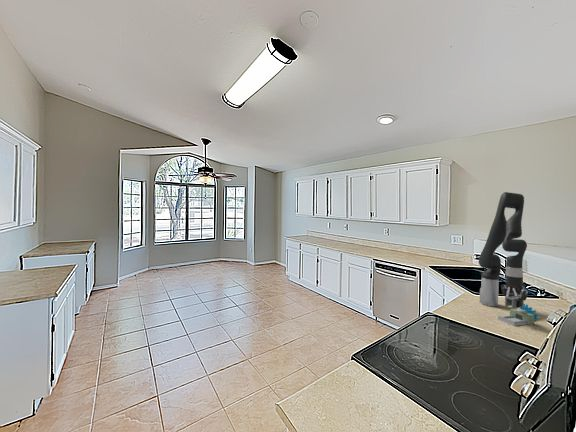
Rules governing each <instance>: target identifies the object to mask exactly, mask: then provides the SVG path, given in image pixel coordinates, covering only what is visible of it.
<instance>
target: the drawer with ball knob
mask: <svg viewBox="0 0 576 432" xmlns="http://www.w3.org/2000/svg"><path fill="white" fill-rule="evenodd" d="M497 320H498V321H500V322H503V323H506V324H508V325H511V326H514V327H515V326H518V327H519V326H524V325H525V326H526V325H528V326H530V325H531V326H532V325H535V320H534V315H533V314H530V313H527V312H526V310H522V309H520V308H510V309H509V315H504V316H503V315H502V316H500V315H497Z"/></svg>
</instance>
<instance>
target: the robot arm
mask: <svg viewBox="0 0 576 432" xmlns="http://www.w3.org/2000/svg"><path fill="white" fill-rule="evenodd" d="M524 205H525V196H524V195H523V194H522V193H517V192H516V193H515V192H508V191H505V192H504V191H503V193H501V195H500V198H499V201H498V205H497V207H496V208H497V209H496V212H495V216H494V218H493V220H492V221H493V222H492V225H491V227H490V230H489V233H488V237H487V239H486V242H485V244H484V247H483V248H482V251H481V252H480V255H479V258H478V265H479V266H480V267H481V268H483V269H486V270H485V271H483V272H481V275H480V276H481V281H480V282H481V284H480V285H481V286H480V288H479V303H481V304H482V305H485V306H489V307H498V306H499V284H500V283H499V282H500V281H499V277H500V276H501V269H502V268H501V267H502V261H501V258H500V256H499V255H498V254H495V251H497V249H498V248H499V247H500V246H502V249H503V251H505V252H509V253H510V252H511V253H512V252H513V253H517V254H516V255H508V256H506V259H505V261H506V266H505V267H506V268H505V284H501V285H500V289H501V293H502V296H504V297H509V296H515V297H516V299H517V308H516V309H520V307H521V306H522V301H527V298H528V295H529V293H530V291H529V290H528V289H527V290H526V289H525V288H524V287H523V284H524V271H523V260H524V256H525V253H526V251H527V247H528V244H527V241H526V240H524V239H520V238H521V237H522V235H523V230H522V220H523V212H524ZM506 208H507V209H513V210H514V211H515V212H514V213H513V214H512V215H511V216H510V217H509V218H508V219H507V218H506V216H505V214H506V213H505V210H506Z"/></svg>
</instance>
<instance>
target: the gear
mask: <svg viewBox="0 0 576 432" xmlns="http://www.w3.org/2000/svg"><path fill="white" fill-rule="evenodd" d="M519 309H522V310H526V312H527V313H530V314H533V315H534V321H536V320H538V317H539V316H538V314H536V313H537V310H536V309H534V310H533V308H532V307H531V306H529V305H528V304H525V303H524V304H523V308H522V307H521V308H519Z"/></svg>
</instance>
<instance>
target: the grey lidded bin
mask: <svg viewBox="0 0 576 432" xmlns="http://www.w3.org/2000/svg"><path fill="white" fill-rule="evenodd" d="M523 304H525V303H524V301H522V306H521V307H522V308H523ZM504 306H505V307H510V306H511V309H518V308H517V299H516V297H515V295H512V296H509V297H506V296H504ZM521 307H520V308H521ZM520 308H519V309H520Z"/></svg>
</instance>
